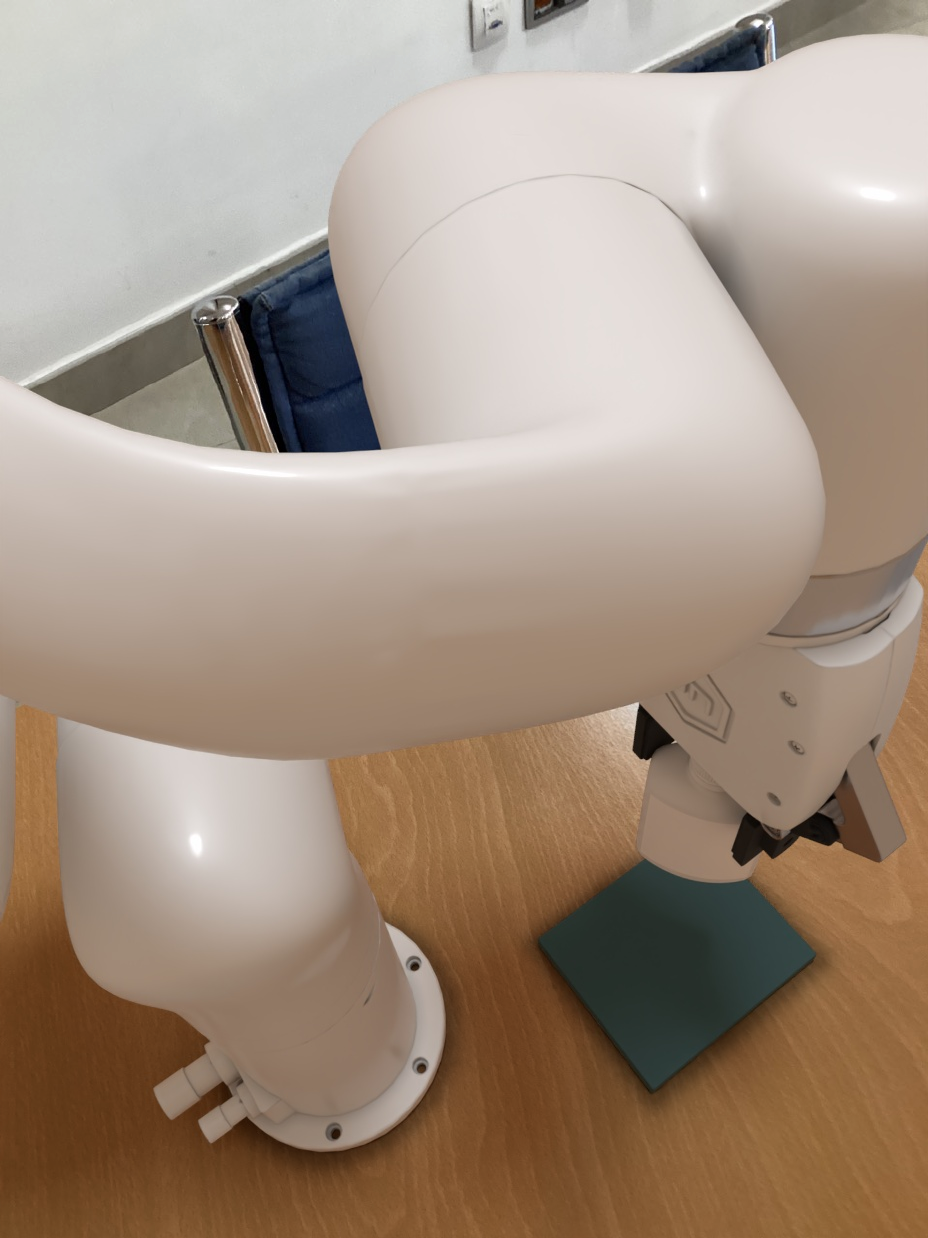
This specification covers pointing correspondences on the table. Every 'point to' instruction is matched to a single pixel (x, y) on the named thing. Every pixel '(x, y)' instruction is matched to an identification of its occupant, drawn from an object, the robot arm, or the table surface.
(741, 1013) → the mat
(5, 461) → the robot arm
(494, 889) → the table surface
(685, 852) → the eye dropper bottle
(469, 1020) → the table surface
